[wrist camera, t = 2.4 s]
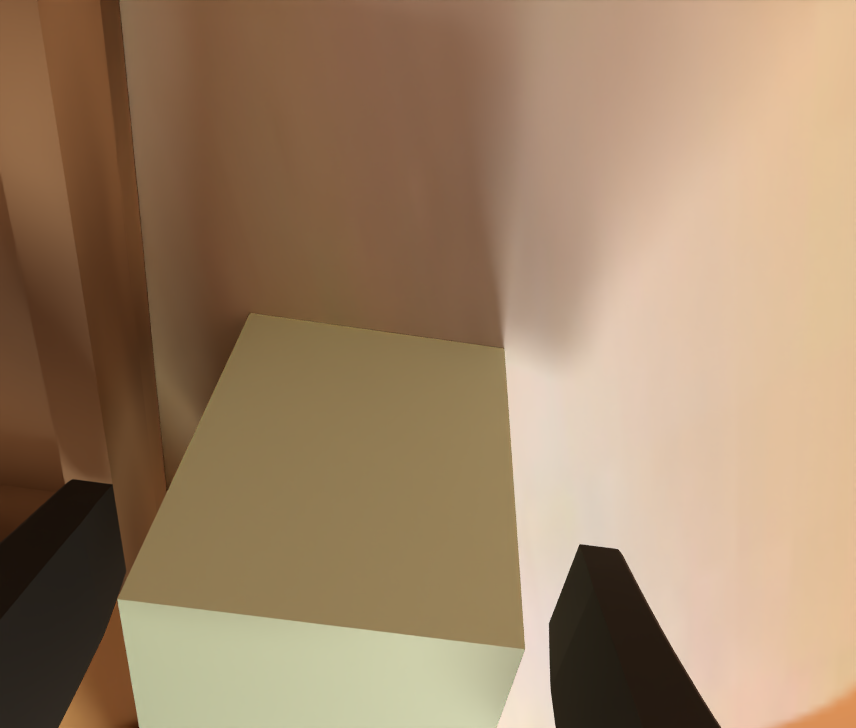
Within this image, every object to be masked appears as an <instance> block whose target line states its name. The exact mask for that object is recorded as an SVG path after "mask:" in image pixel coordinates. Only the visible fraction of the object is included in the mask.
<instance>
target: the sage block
mask: <svg viewBox="0 0 856 728" xmlns="http://www.w3.org/2000/svg"><path fill="white" fill-rule="evenodd" d="M117 601H118V607H119V612H120V618H121V624H122V630H123V636H124V642H125V647H126V653H127V659H128V665H129V671H130V677H131V682H132V688H133V694H134V700H135V706H136V712H137V717H138V723H139V728H497V725H498V722H499V719H500V717H501V714H502V711H503V708H504V706H505V703H506V700H507V697H508V695H509V692H510V689H511V686H512V684H513V681H514V678H515V675H516V673H517V670H518V667H519V664H520V662H521V659H522V656H523V654H524V651H525V642H524V627H523V613H522V598H521V584H520V569H519V555H518V540H517V526H516V511H515V497H514V482H513V468H512V453H511V438H510V424H509V409H508V395H507V380H506V366H505V351H504V348H498V347H491V346H484V345H476V344H469V343H462V342H455V341H448V340H441V339H433V338H426V337H419V336H412V335H405V334H398V333H390V332H383V331H376V330H369V329H362V328H355V327H347V326H340V325H333V324H326V323H319V322H312V321H305V320H297V319H290V318H283V317H276V316H269V315H262V314H254V313H250V314H249V316H248V318H247V320H246V322H245V325H244V327H243V329H242V331H241V333H240V335H239V338H238V340H237V342H236V344H235V346H234V348H233V351H232V353H231V355H230V357H229V359H228V361H227V363H226V366H225V368H224V370H223V372H222V374H221V376H220V379H219V381H218V383H217V385H216V387H215V389H214V392H213V394H212V396H211V398H210V400H209V402H208V404H207V407H206V409H205V411H204V413H203V415H202V417H201V420H200V422H199V424H198V426H197V428H196V430H195V432H194V435H193V437H192V439H191V441H190V443H189V445H188V448H187V450H186V452H185V454H184V456H183V458H182V461H181V463H180V465H179V467H178V469H177V471H176V473H175V476H174V478H173V480H172V482H171V484H170V486H169V489H168V491H167V493H166V495H165V497H164V499H163V502H162V504H161V506H160V508H159V510H158V512H157V514H156V517H155V519H154V521H153V523H152V525H151V527H150V530H149V532H148V534H147V536H146V538H145V540H144V543H143V545H142V547H141V549H140V551H139V553H138V555H137V558H136V560H135V562H134V564H133V566H132V568H131V571H130V573H129V575H128V577H127V579H126V581H125V584H124V586H123V588H122V590H121V592H120V594H119V596H118V599H117Z"/></svg>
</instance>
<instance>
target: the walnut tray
mask: <svg viewBox="0 0 856 728" xmlns="http://www.w3.org/2000/svg"><path fill="white" fill-rule="evenodd" d="M72 479H76V480H84V481H91V482H99V483H107V484H113V490H114V496H115V502H116V508H117V515H118V521H119V527H120V534H121V540H122V546H123V552H124V559H125V565H126V574H125V577H124V580H123V583H122V586H121V589H120V591H119V594H120V592H121V590H122V588H123V586H124V584H125V581H126V579H127V577H128V575H129V573H130V571H131V568H132V566H133V564H134V562H135V560H136V558H137V555H138V553H139V551H140V549H141V547H142V545H143V543H144V540H145V538H146V536H147V534H148V532H149V530H150V527H151V525H152V523H153V521H154V519H155V517H156V514H157V512H158V510H159V508H160V506H161V504H162V502H163V499H164V497H165V495H166V493H167V492H166V481H165V471H164V461H163V451H162V440H161V430H160V420H159V409H158V399H157V389H156V379H155V368H154V358H153V348H152V338H151V327H150V317H149V307H148V297H147V286H146V276H145V266H144V256H143V245H142V235H141V225H140V215H139V204H138V194H137V184H136V174H135V163H134V153H133V143H132V133H131V122H130V112H129V102H128V92H127V81H126V71H125V61H124V50H123V40H122V30H121V20H120V9H119V0H0V542H1V541H2V540H3V539H5V538H6V537H7V536H8V535H9V534H10V533H11V532H13V531H14V530H15V529H16V528H17V527H18V526H19V525H20V524H21V523H23V522H24V521H25V520H26V519H27V518H28V517H29V516H30V515H31V514H33V513H34V512H35V511H36V510H37V509H38V508H39V507H40V506H41V505H42V504H44V503H45V502H46V501H47V500H48V499H49V498H50V497H51V496H52V495H53V494H55V493H56V492H57V491H58V490H59V489H60V488H61V487H62V486H63V485H65V484H66V483H67V482H69V481H70V480H72ZM119 594H118V595H119Z"/></svg>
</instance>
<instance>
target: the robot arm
mask: <svg viewBox="0 0 856 728" xmlns="http://www.w3.org/2000/svg"><path fill="white" fill-rule="evenodd" d="M125 574H126V565H125V559H124V552H123V546H122V540H121V534H120V527H119V521H118V515H117V508H116V502H115V496H114V490H113V484H107V483H99V482H91V481H84V480H76V479H72V480H70V481H69V482H67V483H66V484H65V485H63V486H62V487H61V488H60V489H59V490H58V491H57V492H56V493H55V494H53V495H52V496H51V497H50V498H49V499H48V500H47V501H46V502H45V503H44V504H42V505H41V506H40V507H39V508H38V509H37V510H36V511H35V512H34V513H33V514H31V515H30V516H29V517H28V518H27V519H26V520H25V521H24V522H23V523H21V524H20V525H19V526H18V527H17V528H16V529H15V530H14V531H13V532H11V533H10V534H9V535H8V536H7V537H6V538H5V539H3V540H2V541H1V542H0V728H58V727H59V725H60V723H61V721H62V719H63V717H64V715H65V713H66V711H67V709H68V707H69V705H70V703H71V701H72V699H73V697H74V695H75V693H76V691H77V689H78V687H79V685H80V683H81V681H82V679H83V677H84V675H85V673H86V671H87V669H88V667H89V665H90V663H91V661H92V658H93V656H94V654H95V652H96V650H97V648H98V646H99V644H100V642H101V640H102V638H103V636H104V633H105V630H106V628H107V625H108V622H109V620H110V617H111V614H112V611H113V609H114V606H115V603H116V600H117V597H118V594H119V591H120V589H121V586H122V583H123V580H124V577H125ZM549 649H550V684H551V695H552V703H553V711H554V718H555V726H556V728H721V727H720V725H719V724H718V722H717V721H716V719H715V718H714V716H713V714H712V713H711V711H710V710H709V708H708V706H707V705H706V703H705V702H704V700H703V698H702V697H701V695H700V694H699V692H698V690H697V689H696V687H695V685H694V684H693V682H692V680H691V679H690V677H689V675H688V674H687V672H686V670H685V669H684V667H683V665H682V664H681V662H680V660H679V658H678V657H677V655H676V653H675V652H674V650H673V648H672V646H671V645H670V643H669V641H668V639H667V638H666V636H665V634H664V632H663V631H662V629H661V627H660V625H659V623H658V621H657V620H656V618H655V616H654V614H653V612H652V610H651V609H650V607H649V605H648V603H647V601H646V599H645V597H644V595H643V594H642V592H641V590H640V588H639V586H638V584H637V582H636V580H635V578H634V576H633V574H632V572H631V570H630V569H629V567H628V565H627V563H626V561H625V559H624V557H623V555H622V554H621V552H620V551H619V550H618V549H612V548H605V547H597V546H589V545H581V544H580V545H579V547H578V550H577V552H576V555H575V558H574V560H573V563H572V565H571V568H570V571H569V573H568V576H567V578H566V581H565V583H564V586H563V589H562V591H561V594H560V596H559V599H558V602H557V604H556V607H555V609H554V612H553V615H552V617H551V620H550V622H549Z"/></svg>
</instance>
